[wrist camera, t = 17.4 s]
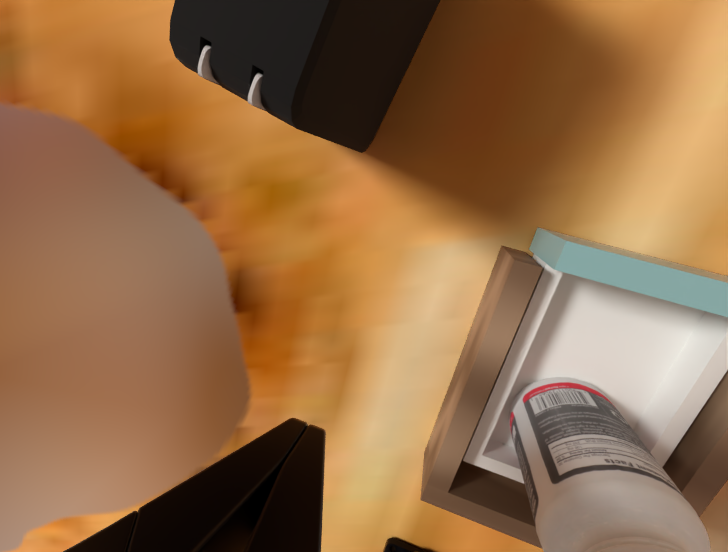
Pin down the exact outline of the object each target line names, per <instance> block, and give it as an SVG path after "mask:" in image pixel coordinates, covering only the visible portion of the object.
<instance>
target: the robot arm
mask: <svg viewBox="0 0 728 552" xmlns="http://www.w3.org/2000/svg"><path fill="white" fill-rule="evenodd" d="M325 435H326V432H325V430H324V429H322V428H319V427H317V426H314V425H309V426H308V424H307V423H306V422H304V421H301V420H299V419H296V418H290V419H288V420H287V421H285V422H283V423H282V424H280V425H278V426H277V427H275V428H273V429H272V430H270V431H268V432H267V433H265V434H263V435H262V436H260V437H258V438H257V439H255V440H253V441H251V442H250V443H248V444H246V445H245V446H243V447H241V448H240V449H238V450H236V451H235V452H233V453H231V454H230V455H228V456H226V457H225V458H223V459H221V460H220V461H218V462H216V463H214V464H213V465H211V466H209V467H208V468H206V469H204V470H203V471H201V472H199V473H198V474H196V475H194V476H193V477H191V478H189V479H188V480H186V481H184V482H183V483H181V484H179V485H177V486H176V487H174V488H172V489H171V490H169V491H167V492H166V493H164V494H162V495H161V496H159V497H157V498H156V499H154V500H152V501H151V502H149V503H147V504H146V505H144V506H142V507H141V508H139V510H138V512H137V511H133V512H132V513H130V514H128V515H127V516H125V517H123V518H122V519H120V520H118V521H117V522H115V523H113V524H112V525H110V526H108V527H106V528H105V529H103V530H101V531H99V532H97V533H96V534H94V535H92V536H90V537H89V538H87V539H85V540H83V541H82V542H80V543H78V544H76V545H75V546H73V547H71V548H69V549H67V550H65V551H63V552H321V536H322V511H323V486H324V461H325ZM383 552H425V551H423V550H420V549H418V548H416V547H413V546H411V545H409V544H406V543H404V542H401V541H399V540H397V539H394V538H389V539H388V540H387V542H386V545H385V547H384V550H383Z"/></svg>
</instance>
